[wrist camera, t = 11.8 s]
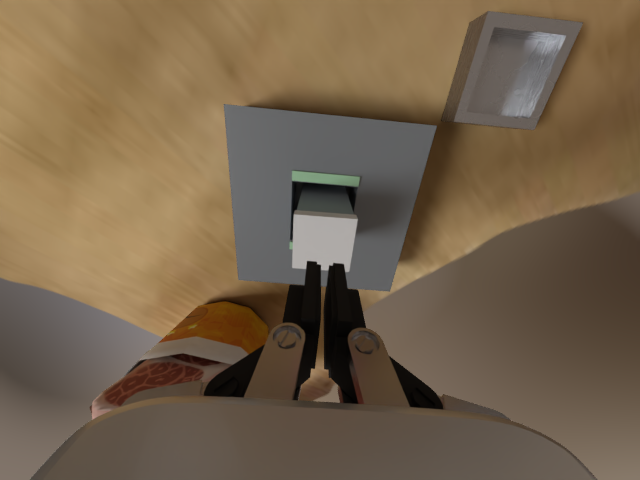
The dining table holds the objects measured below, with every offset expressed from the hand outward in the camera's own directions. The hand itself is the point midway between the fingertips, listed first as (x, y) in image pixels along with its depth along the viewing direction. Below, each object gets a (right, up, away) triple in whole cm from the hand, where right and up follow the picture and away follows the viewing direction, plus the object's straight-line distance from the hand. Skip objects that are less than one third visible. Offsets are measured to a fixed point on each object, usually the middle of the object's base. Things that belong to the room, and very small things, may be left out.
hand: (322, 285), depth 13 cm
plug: (0, +6, +13) cm, 14 cm away
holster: (+15, +16, +8) cm, 24 cm away
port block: (0, +7, +13) cm, 15 cm away
